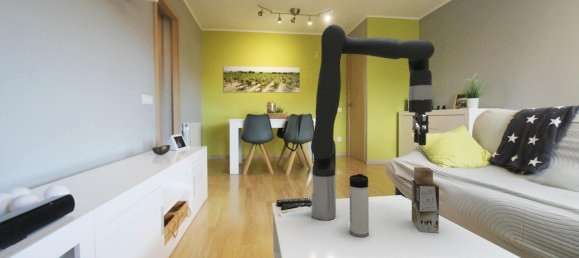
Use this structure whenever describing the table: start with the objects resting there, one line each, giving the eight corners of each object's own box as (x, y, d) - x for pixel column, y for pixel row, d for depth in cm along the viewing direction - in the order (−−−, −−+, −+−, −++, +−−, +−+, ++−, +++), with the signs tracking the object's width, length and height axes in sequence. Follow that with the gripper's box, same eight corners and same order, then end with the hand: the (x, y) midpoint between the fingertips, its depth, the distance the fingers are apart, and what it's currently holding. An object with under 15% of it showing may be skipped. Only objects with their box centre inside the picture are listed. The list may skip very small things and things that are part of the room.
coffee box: (439, 233, 80) (439, 186, 80) (419, 231, 82) (419, 185, 81) (429, 221, 89) (429, 179, 88) (411, 220, 90) (411, 179, 90)
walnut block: (416, 184, 83) (416, 170, 83) (414, 180, 88) (414, 167, 88) (432, 185, 82) (433, 170, 81) (429, 181, 86) (429, 167, 86)
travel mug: (369, 230, 83) (369, 174, 83) (367, 238, 77) (367, 179, 77) (351, 227, 86) (351, 173, 85) (348, 235, 80) (347, 177, 79)
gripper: (405, 100, 93) (405, 141, 93) (412, 98, 79) (411, 145, 80) (427, 100, 90) (426, 142, 91) (437, 97, 77) (436, 146, 77)
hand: (419, 143), depth 85 cm, fingers open, 8 cm apart
